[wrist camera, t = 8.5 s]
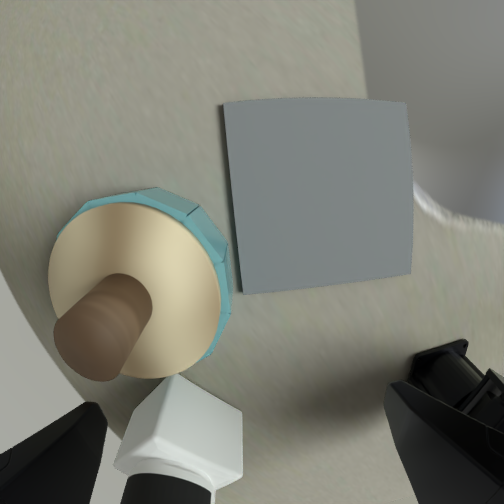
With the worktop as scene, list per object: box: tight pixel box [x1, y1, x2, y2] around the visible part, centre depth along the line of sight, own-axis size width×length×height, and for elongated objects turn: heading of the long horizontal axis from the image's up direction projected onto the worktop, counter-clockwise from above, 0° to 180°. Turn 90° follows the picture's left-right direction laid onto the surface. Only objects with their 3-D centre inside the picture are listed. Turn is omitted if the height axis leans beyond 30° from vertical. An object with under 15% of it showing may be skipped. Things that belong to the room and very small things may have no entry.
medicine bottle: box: [114, 373, 243, 504], centre depth 17 cm, size 7×7×12 cm
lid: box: [48, 202, 221, 382], centre depth 12 cm, size 10×10×6 cm
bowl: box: [56, 187, 233, 363], centre depth 17 cm, size 11×11×4 cm
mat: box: [223, 98, 413, 295], centre depth 18 cm, size 12×12×1 cm
